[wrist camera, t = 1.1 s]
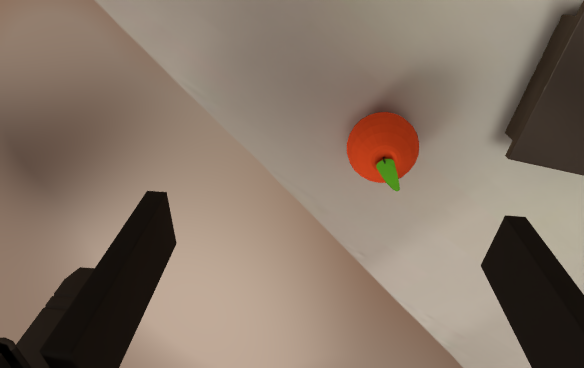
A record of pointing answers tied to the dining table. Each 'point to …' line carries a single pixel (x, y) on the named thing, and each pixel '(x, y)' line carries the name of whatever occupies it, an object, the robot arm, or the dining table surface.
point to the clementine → (383, 148)
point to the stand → (554, 104)
